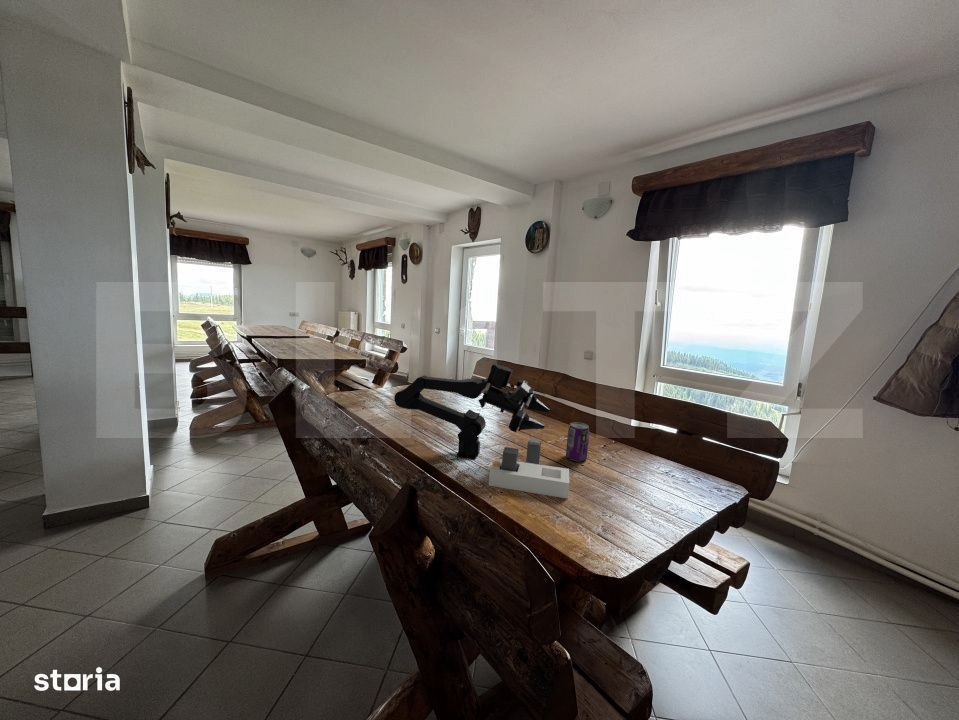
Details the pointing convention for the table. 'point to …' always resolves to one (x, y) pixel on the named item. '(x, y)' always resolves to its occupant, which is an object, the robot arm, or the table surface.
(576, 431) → the beverage can
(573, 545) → the table surface
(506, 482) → the power strip
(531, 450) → the plug
